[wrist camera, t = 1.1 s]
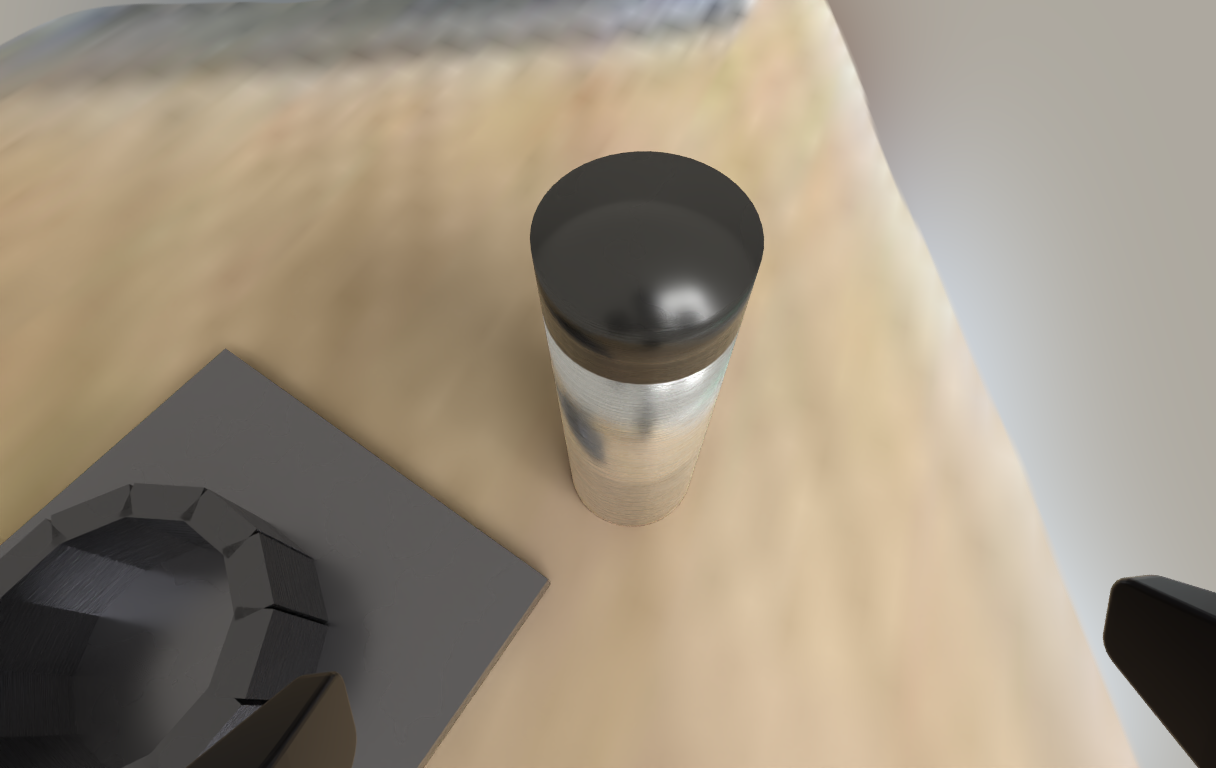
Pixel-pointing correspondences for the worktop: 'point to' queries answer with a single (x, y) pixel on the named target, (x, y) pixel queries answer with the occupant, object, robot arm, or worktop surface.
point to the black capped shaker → (641, 319)
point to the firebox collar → (243, 589)
